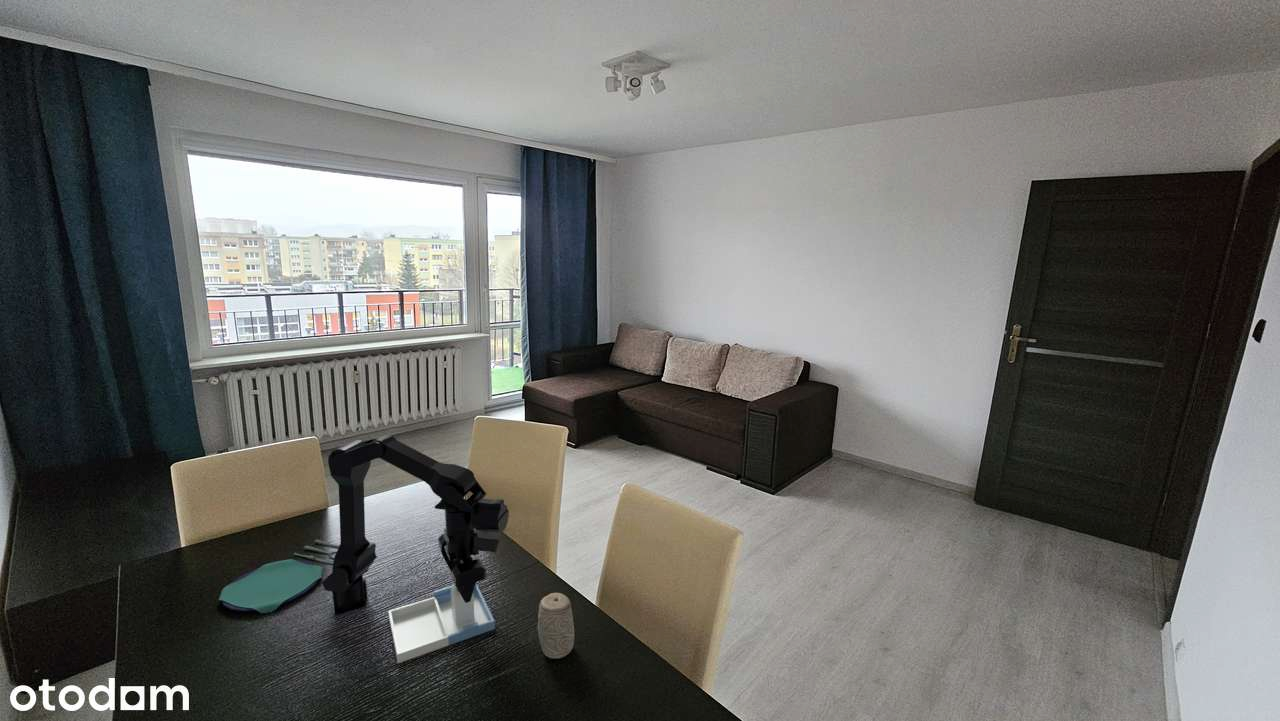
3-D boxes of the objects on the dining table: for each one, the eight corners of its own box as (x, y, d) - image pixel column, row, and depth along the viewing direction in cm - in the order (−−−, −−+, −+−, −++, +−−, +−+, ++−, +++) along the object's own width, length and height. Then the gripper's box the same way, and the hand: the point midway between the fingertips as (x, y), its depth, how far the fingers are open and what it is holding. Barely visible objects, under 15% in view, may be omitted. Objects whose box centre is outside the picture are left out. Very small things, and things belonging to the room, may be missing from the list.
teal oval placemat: (199, 606, 118) (198, 597, 117) (313, 542, 146) (312, 534, 146) (266, 625, 112) (265, 616, 112) (370, 554, 141) (370, 547, 141)
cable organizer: (397, 665, 102) (396, 649, 101) (388, 618, 115) (387, 604, 114) (494, 630, 112) (494, 616, 111) (476, 591, 125) (475, 578, 124)
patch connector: (456, 624, 113) (454, 590, 111) (452, 614, 116) (450, 580, 115) (474, 618, 115) (473, 584, 113) (469, 608, 118) (468, 575, 117)
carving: (541, 639, 110) (541, 589, 108) (576, 641, 110) (576, 591, 107) (534, 662, 104) (534, 609, 101) (571, 663, 103) (571, 611, 101)
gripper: (509, 536, 108) (511, 602, 111) (484, 501, 123) (487, 559, 126) (454, 551, 102) (458, 619, 105) (436, 512, 118) (439, 572, 121)
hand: (462, 590), depth 114 cm, fingers open, 9 cm apart
